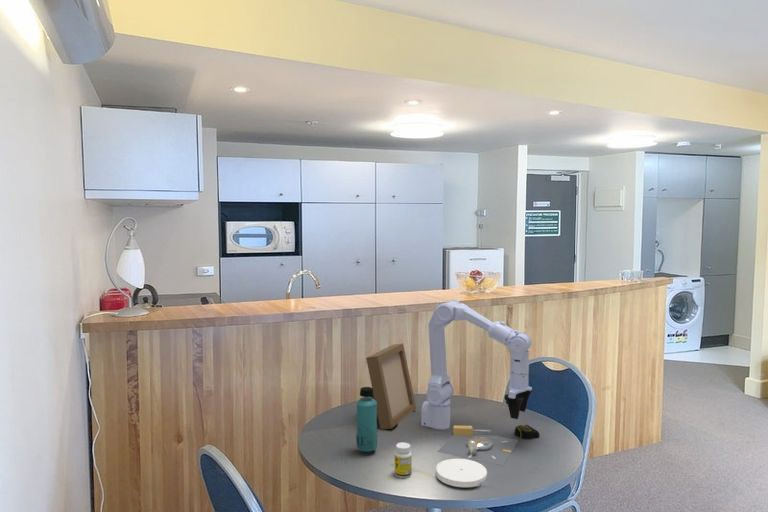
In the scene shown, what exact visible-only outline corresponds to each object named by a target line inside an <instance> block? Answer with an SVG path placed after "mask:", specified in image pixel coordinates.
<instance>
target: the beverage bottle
mask: <svg viewBox="0 0 768 512" xmlns="http://www.w3.org/2000/svg"><path fill="white" fill-rule="evenodd" d="M359 396H360V397H361V398H359V399H358V400H356V415H355V417H356V418H355V421H356V433H355V434H356V435H355V438H356V442H355V443H356V444H355V446H356V449H357V450H359V451H361V452H373V451H375V450H376V449H377V447H378V432H377V431H378V426H377V425H378V423H377V422H378V421H377V419H378V415H377V402H376V401H375V400H374V399H373V398H371V396H373V388H372V386H363V387H360V392H359Z"/></svg>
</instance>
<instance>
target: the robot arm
mask: <svg viewBox="0 0 768 512" xmlns="http://www.w3.org/2000/svg"><path fill="white" fill-rule="evenodd" d="M453 321H455V322H457V321H466V322H469V323H471V324H473V325H475V326H477V327H479V328H481V330H482V329H483V330H484V331H487V334H488V337H490V338H492V339H493V340H495V341H496V342H497V343H500V344H502V345H503V346H505V347H508V349H509V352H510V359H509V360H510V361H509V363H510V364H509V384H508V389H509V390H508V393H506V394H505V395H504V400H505V402H506V404H507V406H508V411H509V416H510V418H511V419H515V420H518V419H519V417H520V412H524V413H525V412H526V409H527V405H528V402H529V398H530V395H531V393H532V392H533V387H532V386H529V374H530V350H529V349H530V348H531V346H532V339H531V337H530V336H529V335H528V334H527V333H526V332H522V331H521V332H519V330H518V329H513V328H511V327H509V326H508V325H506V322H505V321H499V320H496V321H492V320H490V319H488V318H487V317H485V316H483V315H482V314H481V313H479V312H477V311H475V310H474V309H472V308H471V307H469V306H468V305H467V304H466V303H462V302H460V301H459V300H457V299H451V300H450V301H447V302H444V303H443V302H442V303H440V304H439V305H437V306H436V307H435V308H434V309H433V313H432V316H431V317H430V319H429V322H428V327H427V328H428V341H429V356H430V359H429V360H430V374H431V376H430V378H429V380H428V384H427V385H428V387H427V390H426V393H425V396H426V400H424V402H423V403H422V405H421V417H420V419H421V421H420V423H421V424H420V426H422V427H428V428H431V429H434V430H447V429H449V428H450V427H451V397H452V396H453V394H454V387H453V385H452V383H451V378H450V375H448V371H447V370H448V369H447V368H448V367H447V351H446V337H445V336H446V335H445V334H446V332H445V328H446V327H448V326H449V325H450V324H451V322H453Z"/></svg>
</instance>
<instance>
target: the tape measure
mask: <svg viewBox="0 0 768 512" xmlns="http://www.w3.org/2000/svg"><path fill="white" fill-rule="evenodd" d="M514 436H515V437H517V438H519V439H521V440H522V439H523V440H533V439H539V438H540V432H539V431H538V430H537V429H535V428H534V427H532V426H530V425H529V424H518V425H516V426H515V428H514Z"/></svg>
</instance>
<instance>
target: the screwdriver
mask: <svg viewBox="0 0 768 512" xmlns="http://www.w3.org/2000/svg"><path fill="white" fill-rule="evenodd" d="M452 432H453V435H455V436H473V432H478V433H492V430H491V429H474V428H473V425H453V431H452Z"/></svg>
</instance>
